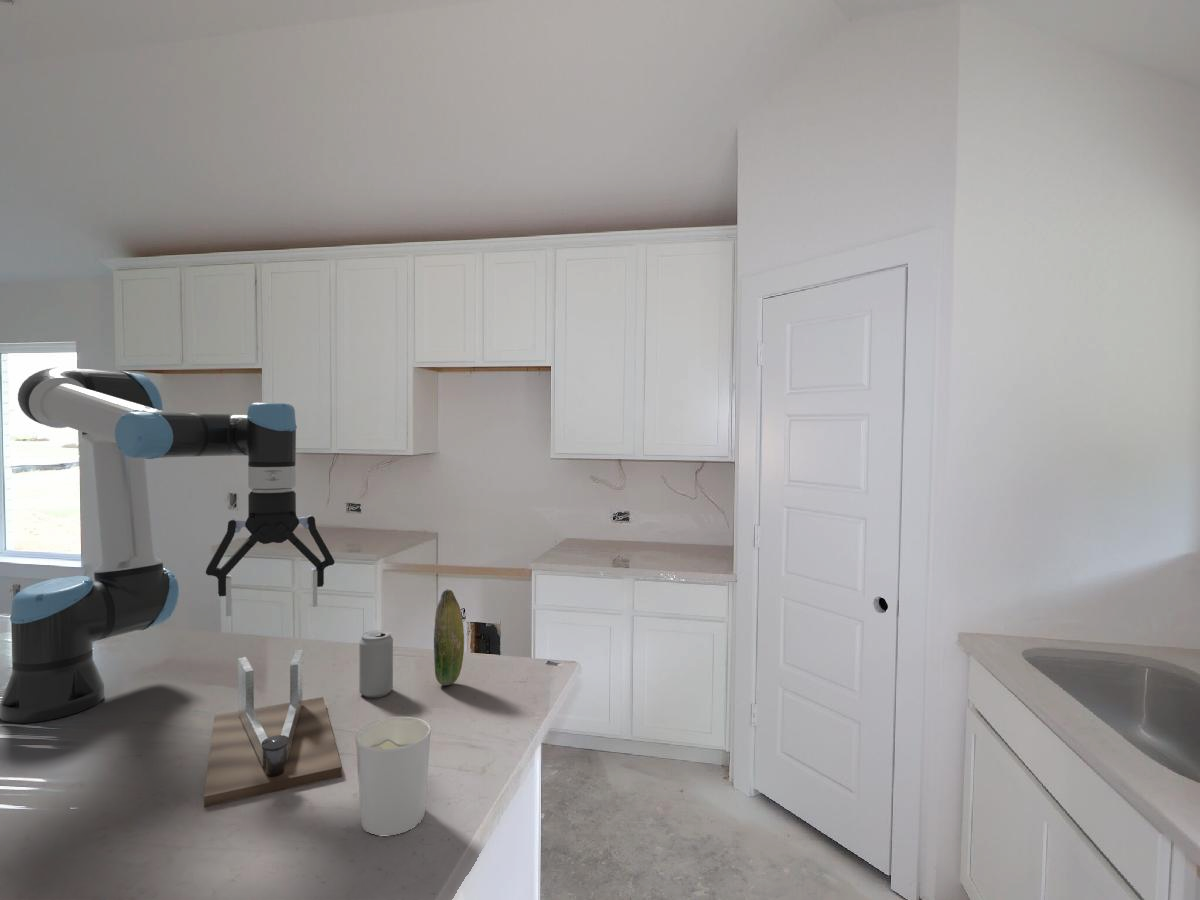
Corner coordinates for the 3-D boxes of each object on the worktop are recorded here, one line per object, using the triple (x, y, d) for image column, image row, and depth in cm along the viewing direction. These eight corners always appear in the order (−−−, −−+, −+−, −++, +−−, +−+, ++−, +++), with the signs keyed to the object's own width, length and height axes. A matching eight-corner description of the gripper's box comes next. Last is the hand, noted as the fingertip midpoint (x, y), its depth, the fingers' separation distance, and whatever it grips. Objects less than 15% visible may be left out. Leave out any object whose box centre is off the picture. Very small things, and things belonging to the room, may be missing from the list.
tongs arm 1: (271, 765, 99) (271, 700, 99) (262, 767, 98) (262, 702, 98) (245, 711, 117) (245, 656, 117) (238, 713, 117) (238, 658, 116)
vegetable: (467, 681, 138) (468, 587, 137) (458, 692, 132) (459, 594, 131) (439, 679, 139) (440, 586, 138) (429, 691, 132) (430, 593, 132)
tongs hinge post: (289, 775, 97) (289, 742, 97) (261, 781, 95) (261, 748, 95) (287, 764, 100) (287, 732, 100) (261, 770, 98) (261, 737, 98)
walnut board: (214, 723, 117) (214, 715, 117) (323, 704, 125) (323, 697, 125) (204, 807, 91) (203, 796, 91) (341, 776, 100) (341, 766, 100)
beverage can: (382, 700, 127) (382, 640, 127) (352, 697, 129) (352, 637, 128) (398, 688, 134) (399, 630, 133) (370, 685, 135) (370, 627, 135)
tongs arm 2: (286, 762, 100) (286, 698, 100) (278, 763, 99) (278, 699, 99) (302, 702, 122) (302, 649, 121) (295, 703, 121) (295, 650, 121)
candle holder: (366, 799, 94) (366, 717, 93) (435, 797, 94) (436, 715, 94) (345, 842, 84) (345, 750, 84) (423, 839, 85) (423, 748, 84)
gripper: (187, 494, 106) (188, 624, 106) (350, 489, 118) (350, 606, 118) (190, 490, 112) (191, 612, 113) (344, 486, 124) (344, 596, 125)
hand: (272, 609), depth 116 cm, fingers open, 13 cm apart
